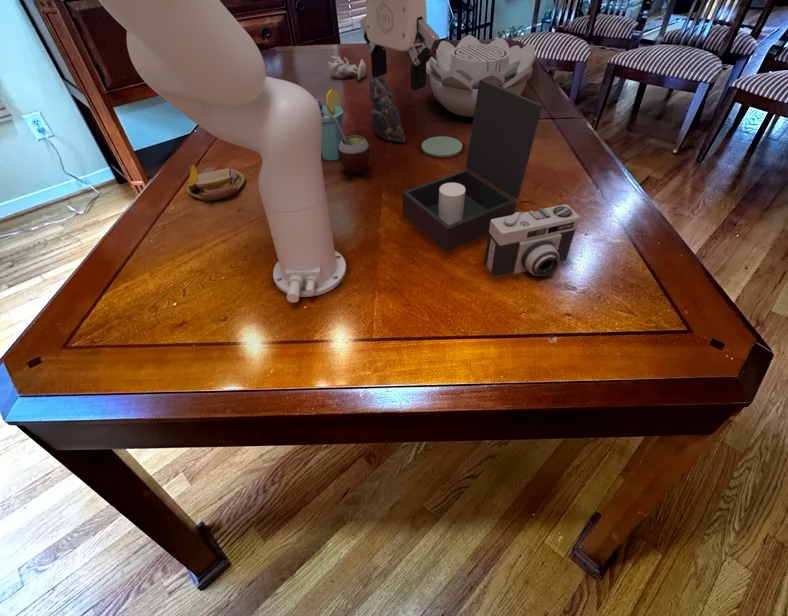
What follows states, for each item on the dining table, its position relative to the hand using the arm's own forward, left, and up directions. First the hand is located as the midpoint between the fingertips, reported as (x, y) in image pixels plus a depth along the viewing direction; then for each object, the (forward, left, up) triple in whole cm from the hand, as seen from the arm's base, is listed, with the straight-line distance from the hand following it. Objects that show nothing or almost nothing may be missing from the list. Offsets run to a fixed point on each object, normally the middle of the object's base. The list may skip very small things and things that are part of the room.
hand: (398, 81), depth 80 cm
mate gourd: (+9, +10, -23) cm, 27 cm away
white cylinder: (-12, -9, -22) cm, 27 cm away
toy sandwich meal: (+5, +40, -23) cm, 47 cm away
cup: (+18, +16, -23) cm, 34 cm away
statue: (+28, +2, -23) cm, 36 cm away
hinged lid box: (-11, -11, -23) cm, 27 cm away
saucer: (+21, -11, -23) cm, 33 cm away
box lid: (-7, -18, -8) cm, 21 cm away
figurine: (+73, +15, -23) cm, 78 cm away
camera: (-26, -22, -23) cm, 41 cm away
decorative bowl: (+43, -23, -23) cm, 54 cm away
